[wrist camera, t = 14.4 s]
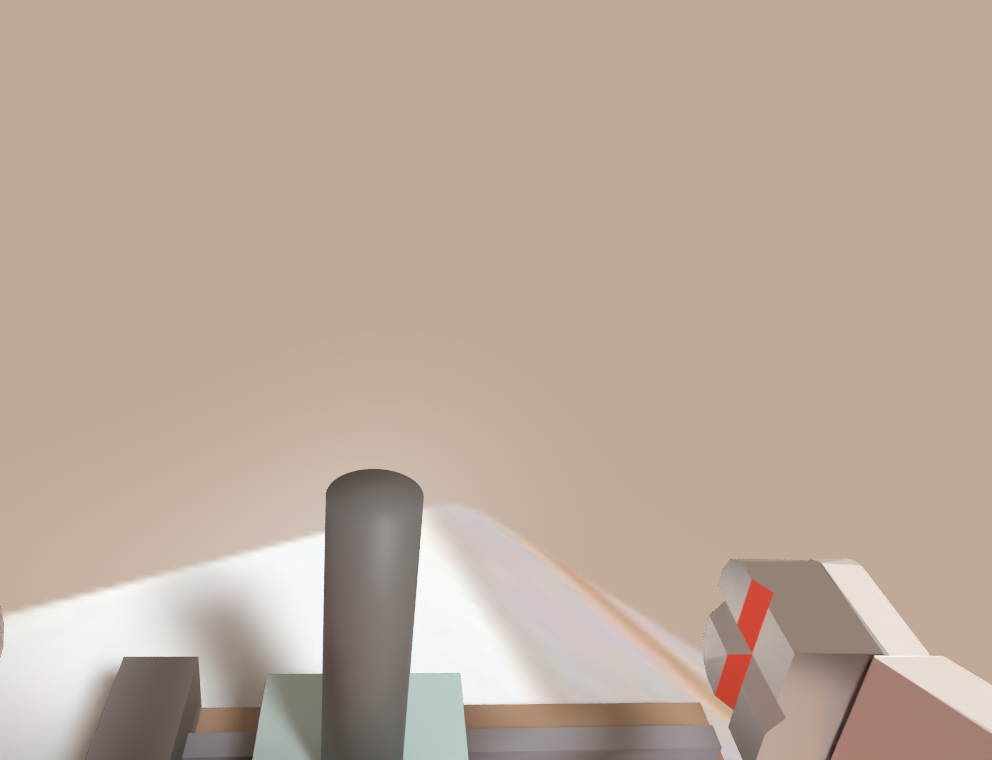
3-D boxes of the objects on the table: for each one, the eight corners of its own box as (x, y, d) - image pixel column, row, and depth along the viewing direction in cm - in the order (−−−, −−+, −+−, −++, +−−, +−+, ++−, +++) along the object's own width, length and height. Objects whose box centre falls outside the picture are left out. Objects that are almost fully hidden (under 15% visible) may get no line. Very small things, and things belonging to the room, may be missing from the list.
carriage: (232, 926, 28) (214, 590, 22) (267, 709, 36) (262, 419, 30) (474, 914, 29) (521, 593, 23) (456, 707, 37) (488, 427, 31)
